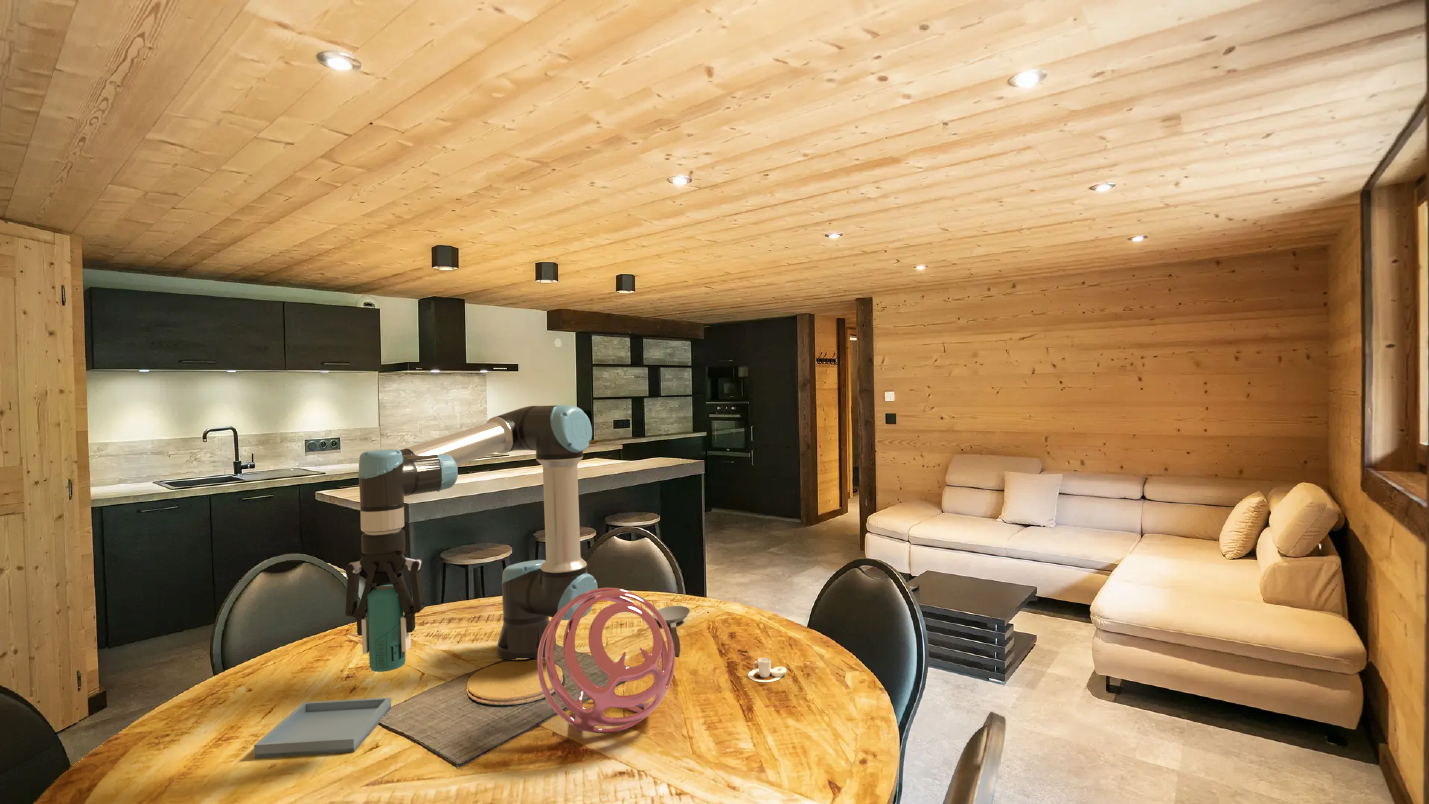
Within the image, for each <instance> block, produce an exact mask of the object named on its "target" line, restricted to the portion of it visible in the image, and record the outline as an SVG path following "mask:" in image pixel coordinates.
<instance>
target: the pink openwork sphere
mask: <svg viewBox="0 0 1429 804" xmlns="http://www.w3.org/2000/svg"><path fill="white" fill-rule="evenodd" d="M630 599H632V600H630ZM633 600H634V601H637V602H639V603H640V604H642V605H643V606H644V607H646V608H647V609H648V610H649V611H650V612H649V611H648V610H646V609H645V608H643V607H642V606H640V605H639V604H637V603H636V602H634V601H633ZM600 601H608V602H613V603H611V604H609V605H607V606H605V607H604V608H602V609H601V610H600V611H599V612H598V613H597V614H596V616H595V617H594V618H593V621H592V622H591V624H590V627H589V631H588V647H589V648H588V649H589V651H590V654H591V657H592V659H593V661H594V663H595V664H596V665H597V668H599V670H601V672H603V673H604V674H605V675H607V677H608V681H607V683H606V685H605V686H603V687H602V686H601V685H597V684H595V683H593V682H592V681H591V680H590V679H589V678H588V676H587V675H586V674H585V672H584V671H583V669H582V666H581V665H580V663H579V660H578V657H577V652H576V634H577V629H578V626H579V623H580V622H581V619H583V618H582V616H583V615H584V613H585V612H586V611H587V610H588V609H589V608H590V607H591V606H592V605H593V604H594V605H595V604H597V603H598V602H600ZM580 603H581V604H580ZM577 604H580V605H579V606H578V607H577V609H576V610H575V611H574V612H573V614H572V615H571V617H570V619H569V620H567V621H568V622H567V623H566V626H565V630H564V635H563V641H562V642H563V643H562V644H563V645H562V650H563V651H562V652H563V659H564V662H565V663H564V664H565V666H566V669H567V672H568V673H569V676H570V678H571V679H572V681H573V682H574V685H576V686H577V688H578V689H579V690H580V692H579V694H578V697H577V700H576V701H575V699H574V698H572V696H571V695H570V693H568V692H567V690H566V688H565V687H564V686H563V683H562V682H561V680H560V677H559V673H558V670H557V667H556V663H555V656H554V655H555V652H554V651H555V650H554V640H555V637H556V634H557V632H558V629H559V626H560V624H561V622H562V621H563V620H562V618H563V617H564V615H565V614H566V613H567V611H568V610H569V609H570V608H571V607H573V606H575V605H577ZM594 605H593V606H594ZM593 606H592V607H593ZM658 610H659V609H658V608H656V607H655V606H654V604H652V603H651V602H650V601H648V600H647V599H645V598H644V597H643V596H640V595H639V594H636V593H634V592H632V591H629V590H626V589H622V588H619V587H618V588H617V587H600V588H597V589H594V590H590V591H587V592H585V593H583V594H581V595H579V596H577V597H575V598H574V599H572V600H571V601H570V602H569V603H567V604H566V605H565V606H564V607H562V608H561V609H560V610H559V611H558V612H557V613H556V614H555V615H554V616H553V617H551V619H549V620H550V622H549V623H548V625H547V627H546V628H545V630H544V632H543V635H542V637H541V640H540V644H539V648H538V654H537V658H536V670H537V677H538V681H539V685H540V688H541V690H542V693H543V695H544V697H545V699H546V701H547V703H548V705H550V707H551V708H552V710H553V711H554V712H555V713H556V714H557V715H558V716H559V717H560V719H562V720H564V722H566V723H567V724H569V725H570V726H572V727H573V728H575V729H576V730H578V731H581V732H586V733H590V734H591V733H592V734H597V735H598V734H599V735H607V734H609V735H610V734H615V733H620V732H623V731H626V730H628V729H629V730H630V729H631V728H633V727H635V726H637V725H638V724H640V723H641V722H642V721H643V720H645V719H646V718H648V716H650V714H652V713H653V712H654V711H655V709H656V708H657V707H658V706H660V704H661V703H662V701H663V699H664V698H665V696H666V694H667V692H668V690H669V688H670V686H671V683H672V680H673V677H674V673H675V663H676V656H675V651H674V644H673V640H672V636H671V634H672V633H671V631H670V630H671V629H670V628H669V624H667V623H666V621H665V620H664V618H663V616H662V615H661V614H660V612H659V611H658ZM621 613H631V614H635V615H636V616H639V617H640V618H641V619H642V620H643V621H644V623H645V624H646V625H647V626H648V628H649V629H650V631H651V633H652V640H653V643H652V644H653V645H652V649H651V652H650V653H648V652H647V651H646V650H645V649H644V648H643V647H640V648H639V650H640V653H641V654H642V656H643V659H644V661H643V662H642V663H639V664H638V665H635V666H626V665H625V660H626V654H627V651H624V652H623V653H622V655H621V656H620V659H619V660H618V661H617V662H615V661H614V660H613V659H611V657H610V656H609V654H607V652H606V649H605V646H604V645H603V644H604V643H603V631H604V629H605V626H606V624H607V622H608V621H609V620H610V619H611V618H612V617H614V616H615V615H618V614H621ZM650 613H652V614H650ZM653 614H654V615H655V617H656V618H657V619H658V621H657V620H656V619H655V618H654V617H653ZM658 623H659V624H660V626H661V627H662V629H663V631H664V634H665V638H666V639H665V638H664V636H663V634H662V632H661V629H660V626H659V624H658ZM548 632H549V633H548ZM547 634H548V636H547ZM546 637H547V641H546V648H545V656H544V657H545V658H544V662H545V668H546V673H547V677H548V680H549V682H550V684H551V687H552V690H553V691H554V692H555V694H556V696H557V698H558V699H559V700H560V702H562V704H563V705H564V706H565V707H566V708H567V709H568V710H569V711H570V712H571V713H573V715H572V717H571V716H570V715H569V714H568V713H566V712H565V711H564V710H563V709H562V708H561V706H559V705H558V703H557V701H555V699H554V697H553V696H552V694H551V692H550V690H549V688H548V686H547V683H546V679H545V674H544V669H543V656H542V654H543V647H544V643H545V640H546ZM665 641H666V642H665ZM660 661H661V670H660V668H659V662H660ZM650 674H652V677H653V678H654V679H653V683H652V685H650V686H649V687H648V688H646V689H644V690H643V691H641V692H638V693H634V694H629V695H619V694H616V693H615V691H616V687H617V684H618V683H620V682H633V681H638V680H641V679H643V678H645V677H646V676H649V675H650ZM584 694H585V696H587V697H588V698H589V699H590V700H591V701H592V703H593V706H592V707H591V708H586V707H584V706H583V699H584V698H583V697H584ZM652 698H653V699H652ZM650 699H652V700H651V701H649V700H650ZM647 701H649V702H647ZM611 708H613V709H615V708H617V709H625V710H628V711H631V712H634V714H631V715H628V716H622V717H609V716H607V715H606V716H605V714H604V713H605V711H606V710H608V709H611ZM598 726H599V727H600V726H601V727H609V728H599V727H598ZM610 727H611V728H610Z"/></svg>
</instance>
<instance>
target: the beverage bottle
mask: <svg viewBox="0 0 1429 804" xmlns="http://www.w3.org/2000/svg"><path fill="white" fill-rule="evenodd" d="M373 583H376V585H377V584H378V585H379V584H383V585H379V586H376V587H375V588H373V589H372V590H371V592H370V593H369V594H368V595H367V602H368V614H367V615H368V626H369V636H368V639H369V651H368V653H367V654H368V663H369V668H370V670H371V671H372V672H377V673H384V672H389V671H394V670H397V669H399V668H401V667H403V666H404V665H405V663H406V652H402V643H401V617H402V616H403V615H404V611H403V609H402V606H401V604H400V601H399V599H398V594H397V593H396V591H395V589H394V586H393V585H392V584H387V583H391V582H390V580H389V577H388V575H387V573H386V572H376V573H375V576H374V579H373Z"/></svg>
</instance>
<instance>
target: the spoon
mask: <svg viewBox="0 0 1429 804" xmlns="http://www.w3.org/2000/svg"><path fill="white" fill-rule="evenodd" d="M657 610H658V611H659V612H660V614H661V615H662V616H663V618H664V620H665V621H666V623H667V625H670V630H671V631H670V633H671V636H672V640H673V644H674V651H675V658H676V657H677V658H678V657H680V653H681V642H680V637H679V634H678V631H677V630H678V629H677V624H679V623H681V622H683V621H684V620H685V619H686V618H688V615H689V614H690V612H691V611H690V610H691V609H690V608H689V607H687V606H683V605H671V606H670V605H669V606H666V607H663V608H659V609H657ZM652 617H653V618H654V619H655V621H656V622H659V621H658V619H657V618H656V617H655V615H654V614H653V613H652Z"/></svg>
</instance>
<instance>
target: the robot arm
mask: <svg viewBox="0 0 1429 804" xmlns="http://www.w3.org/2000/svg"><path fill="white" fill-rule="evenodd" d="M592 428H593V427H592V424H591V421H590V417H588V415H587V414H586V413H585V412H584V410H583V409H581V408H580V407H578V406H574V405H568V404H567V405H566V404H558V405H529V406H524V407H520V408H517V409H514V410H512V411H507V412H505V413H503V414H500V415H496V416H493V417H490V418H489V419H488V420H487V422H486V423H483V424H480V425H478V426H474V427H470V428H468V429H465V430H461V431H457V432H454V433H450V434H447V435H444V436H440V437H438V438H433V439H432V440H429V441H425V442H422V443H421V442H420V443H418V444H415V445H411V446H408V447H405V448H402V449H397V448H396V449H391V448H390V449H375V450H372V449H371V450H367V451H363V452H362V453H361V454H360V455H359V462H358V475H357V476H358V484H359V502H360V503H359V504H360V505H359V506H360V530H361V532H362V534H361V535H360V536H361V537H360V538H361V539H360V541H361V542H360V543H361V557H360V560H358V561H352V562H350V563H348V564H346V565H344V570H345V573H346V576H347V578H346V579H347V581H346V584H347V585H346V599H345V612H344V613H345V616H347V617H353V618H355V619H356V634H357V635H358V636H361V643H362V645H361V646H362V647H361V648H362V654H363V655H367V654H369V652H368V651H369V639H368V636H369V626H368V602H367V595H368V594H369V593H370V592H371V590H372V589H373V588H375V587H377V584H376V583H373V579H374V576H375V573H376V572H386V573H387V575H388V577H389V580H390V582H389V583H390V585H393V586H394V589H395V591H396V593H397V594H398V599H399V601H400V604H401V606H402V609H403V611H404V615H403V616H402V617H401V643H402V652H405V653H407V651H408V650H409V649H410V648H411V647H412V639H411V637H412V636H411V633H413V632H414V631H415V629H416V614H419V613H421V611H423V609H425V607H426V605H425V604H426V602H425V594H424V587H423V579H422V571H421V570H422V567H423V559H421V558H417V559H413V558H409V557H408V554H406V534H405V533H406V532H405V530H404V529H403V527H405V503H404V502H405V497H408V496H414V495H420V494H425V493H433V492H437V493H438V492H441V491H443V490H448V489H451V488H452V487H454V485H455V484H456V482H457V480H458V476H459V473H458V470H459V469H458V466H460V465H464V464H465V463H469V462H472V461H475V460H478V459H480V458H483V457H486V456H489V455H491V454H495V453H497V454H501V455H503V454H507V453H509V452H513V451H514V452H515V451H533V452H535V459H536V462H538V464H540V465H541V466H542V479H543V480H542V481H543V483H542V484H543V507H544V508H543V510H544V531H545V533H544V534H545V535H544V536H545V537H544V538H545V559H535V560H527V561H523V562H522V561H521V562H516V563H514V564H510V565H507V566H506V567H505V568H504V569H503V571H502V578H501V593H502V595H501V597H502V598H501V599H502V616H503V617H502V618H503V619H502V620H503V621H502V622H503V623H502V625H501V626H502V627H501V630H500V634H499V636H498V640H497V643H496V655H497V656H498V657H499V658H501V659H503V660H507V661H511V660H510V659H516V658H535V659H537V654H538V648H539V644H540V640H541V637H542V635H543V632H544V630H545V628H546V627H547V625H548V623H549V622H550V620H551V619H550V618H553V616H554V615H555V614H556V613H557V612H558V611H559V610H560V609H561V608H562V607H564V606H565V605H566V604H567V603H569V602H570V601H571V600H572V599H574V598H575V597H577V596H579V595H581V594H583V593H585V592H587V591H590V590H594V589H598V582H597V580H596V579H595V577H594V576H593V575H592V574H590V573H588V563H587V561H585V560H584V559H583V558H582V557H581V536H580V535H581V533H580V527H581V526H580V505H579V504H580V503H579V502H580V501H579V476H578V474H579V473H578V471H579V470H578V464H579V463H580V462H581V460H583V458H584V454H583V453H584V451H585V450H587V449H588V448H589V446H590V442H591V441H592V437H593V430H592ZM405 566H407V569H408V571H409V580H410V586H411V593H410V591H409V589H408V587H407V584H406V581H405V576H404V574H403V573H404V572H403V569H404V568H405ZM362 570H363V571H364V572H365V573H366V574H367V576H366V578H365V582H364V584H365V585H364V588H363V591H362V594H361V598H360V601H359V593H360V578H361V577H360V576H361V575H360V573H361V571H362ZM411 594H412V596H411ZM580 604H581V603H580ZM580 604H577V605H575V606H573V607H571V608H570V609H569V610H568V611H567V613H566V614H565V615H564V617H563V618H562V620H561V621H569V619H570V617H571V615H572V614H573V612H574V611H575V610H576V609H577V607H578V606H579V605H580ZM594 605H595V604H593V605H592V606H591V607H590V608H589V609H588V610H587V611H586V612H585V613H584V615H583V616H582V618H581V619H583V618H584V617H586V616H587V615H588V614H589V613H590V612H591V610H592V607H594ZM548 633H549V632H548ZM547 636H548V634H547ZM546 641H547V637H546V640H545V643H544V647H543V654H542V657H545V648H546ZM556 648H557V637H556V636H555V640H554V651H555V650H556Z"/></svg>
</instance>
